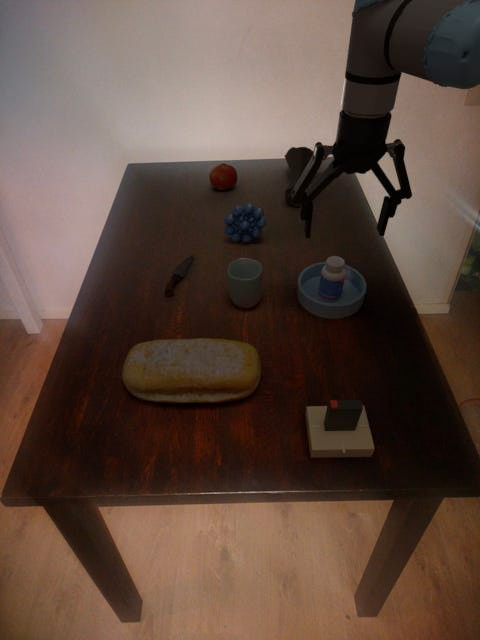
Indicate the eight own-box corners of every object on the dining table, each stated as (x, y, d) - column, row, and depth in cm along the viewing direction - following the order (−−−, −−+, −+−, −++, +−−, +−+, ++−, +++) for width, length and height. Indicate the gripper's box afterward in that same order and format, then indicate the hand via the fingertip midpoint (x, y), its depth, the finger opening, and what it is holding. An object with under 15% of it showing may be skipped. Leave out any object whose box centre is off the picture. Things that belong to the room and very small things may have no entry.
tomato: (205, 189, 130) (202, 166, 124) (222, 178, 135) (220, 155, 129) (226, 196, 126) (224, 173, 120) (243, 185, 130) (242, 162, 125)
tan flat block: (360, 411, 69) (363, 401, 67) (372, 460, 63) (376, 452, 61) (304, 412, 70) (306, 402, 67) (310, 461, 63) (312, 453, 61)
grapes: (267, 234, 110) (267, 195, 101) (266, 248, 105) (266, 208, 96) (227, 233, 111) (224, 195, 102) (224, 247, 106) (220, 208, 97)
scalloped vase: (293, 172, 140) (290, 221, 123) (280, 148, 133) (275, 197, 116) (321, 159, 134) (322, 209, 118) (309, 133, 128) (308, 182, 111)
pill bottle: (340, 303, 88) (347, 270, 81) (317, 300, 89) (321, 267, 82) (342, 288, 92) (348, 255, 85) (319, 285, 93) (323, 252, 86)
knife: (170, 293, 91) (153, 282, 92) (169, 299, 93) (152, 288, 93) (207, 260, 102) (191, 250, 103) (205, 266, 104) (190, 256, 104)
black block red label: (353, 421, 65) (361, 398, 59) (355, 430, 63) (363, 407, 58) (323, 422, 65) (328, 399, 60) (324, 431, 64) (330, 408, 58)
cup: (257, 316, 87) (256, 282, 80) (225, 309, 89) (221, 276, 82) (266, 294, 92) (267, 260, 85) (236, 288, 94) (234, 255, 87)
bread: (262, 408, 71) (262, 383, 65) (120, 412, 71) (108, 388, 66) (259, 351, 80) (259, 325, 74) (134, 355, 81) (124, 330, 75)
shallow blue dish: (374, 289, 91) (377, 276, 89) (344, 329, 83) (347, 316, 80) (317, 267, 98) (319, 254, 95) (284, 301, 90) (285, 288, 87)
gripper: (443, 98, 58) (405, 219, 74) (279, 104, 59) (275, 223, 75) (462, 115, 53) (417, 242, 69) (282, 122, 54) (278, 246, 70)
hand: (343, 233), depth 72 cm, fingers open, 13 cm apart
